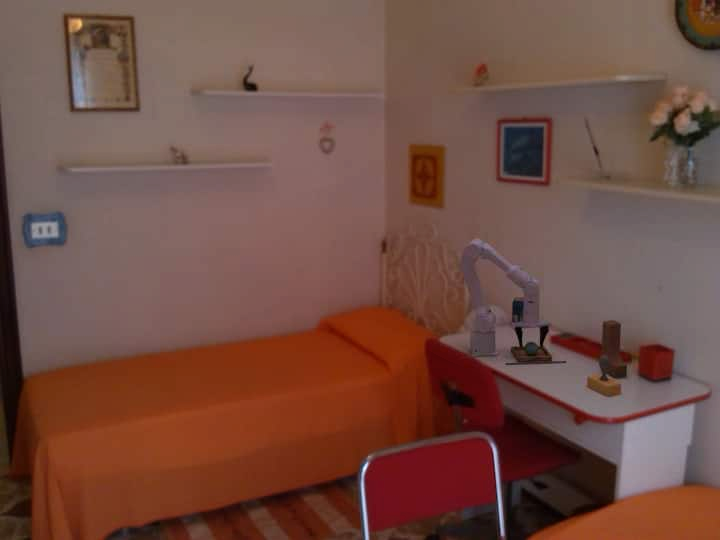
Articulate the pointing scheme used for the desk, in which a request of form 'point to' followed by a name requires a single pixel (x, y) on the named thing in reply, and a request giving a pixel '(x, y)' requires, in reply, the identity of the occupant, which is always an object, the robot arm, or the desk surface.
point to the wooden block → (613, 348)
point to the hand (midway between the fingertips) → (531, 346)
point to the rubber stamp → (604, 380)
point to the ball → (531, 348)
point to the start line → (536, 363)
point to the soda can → (518, 310)
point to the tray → (524, 357)
